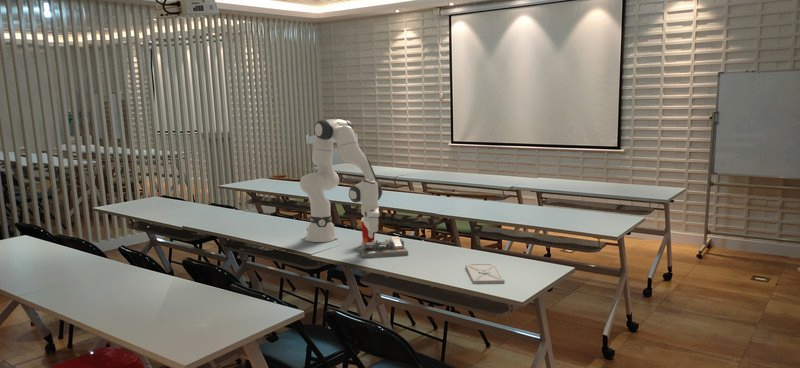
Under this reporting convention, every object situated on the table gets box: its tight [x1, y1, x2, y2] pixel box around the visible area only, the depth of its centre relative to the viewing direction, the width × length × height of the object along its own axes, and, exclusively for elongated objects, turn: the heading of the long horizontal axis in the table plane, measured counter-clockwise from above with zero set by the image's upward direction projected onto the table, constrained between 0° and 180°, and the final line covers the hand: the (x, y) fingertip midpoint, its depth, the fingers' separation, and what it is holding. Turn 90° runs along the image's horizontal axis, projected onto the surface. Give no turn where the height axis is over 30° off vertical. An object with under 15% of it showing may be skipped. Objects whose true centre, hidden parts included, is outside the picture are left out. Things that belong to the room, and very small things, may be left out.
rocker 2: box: [378, 240, 389, 246], centre depth 307 cm, size 10×4×1 cm, turn 14°
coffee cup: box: [360, 216, 376, 243], centre depth 322 cm, size 8×8×15 cm
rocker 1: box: [365, 242, 374, 247], centre depth 305 cm, size 10×4×1 cm, turn 14°
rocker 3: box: [390, 236, 403, 249], centre depth 309 cm, size 10×4×1 cm, turn 13°
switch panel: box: [359, 238, 409, 259], centre depth 305 cm, size 14×23×6 cm, turn 104°
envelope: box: [465, 263, 505, 284], centre depth 267 cm, size 24×2×14 cm
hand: (370, 237), depth 300 cm, fingers closed
